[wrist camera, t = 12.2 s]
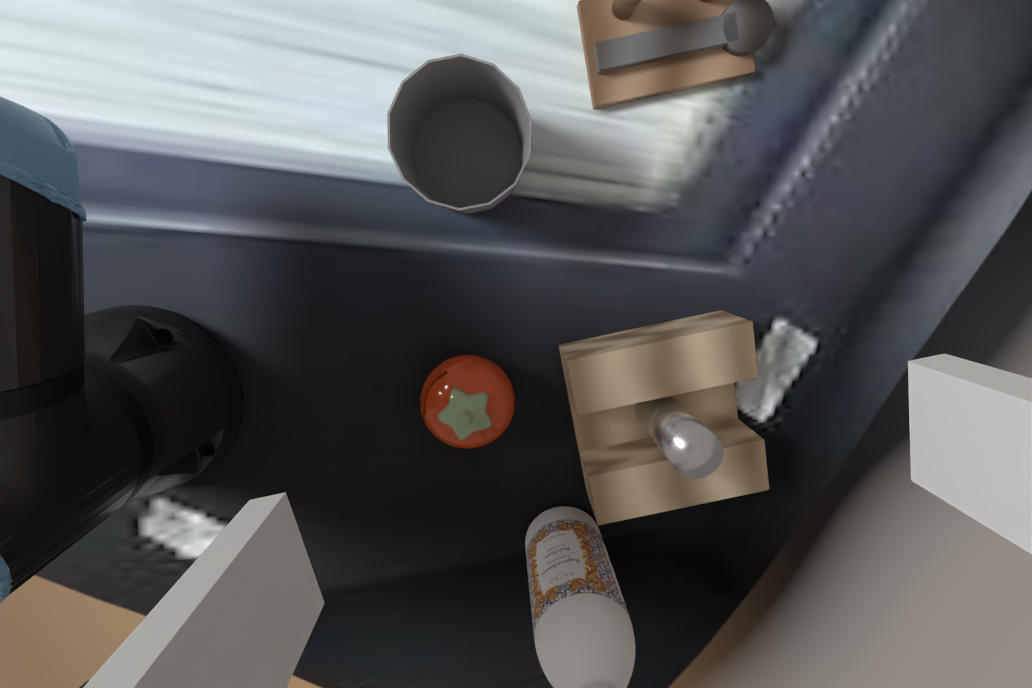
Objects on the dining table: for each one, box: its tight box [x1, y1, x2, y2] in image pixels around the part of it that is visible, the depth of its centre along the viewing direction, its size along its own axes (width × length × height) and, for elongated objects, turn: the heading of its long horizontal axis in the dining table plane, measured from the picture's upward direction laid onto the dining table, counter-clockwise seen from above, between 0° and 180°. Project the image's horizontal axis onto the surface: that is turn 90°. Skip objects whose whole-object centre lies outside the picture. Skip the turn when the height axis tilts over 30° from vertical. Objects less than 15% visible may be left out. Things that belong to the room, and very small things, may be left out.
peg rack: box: [577, 0, 774, 109], centre depth 35 cm, size 13×7×6 cm, turn 102°
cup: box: [388, 54, 532, 214], centre depth 34 cm, size 8×8×10 cm
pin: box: [636, 396, 723, 479], centre depth 39 cm, size 4×4×9 cm
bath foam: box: [525, 506, 635, 688], centre depth 37 cm, size 7×7×20 cm
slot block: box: [558, 310, 769, 525], centre depth 42 cm, size 14×14×5 cm
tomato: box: [420, 355, 515, 448], centre depth 39 cm, size 7×7×8 cm
